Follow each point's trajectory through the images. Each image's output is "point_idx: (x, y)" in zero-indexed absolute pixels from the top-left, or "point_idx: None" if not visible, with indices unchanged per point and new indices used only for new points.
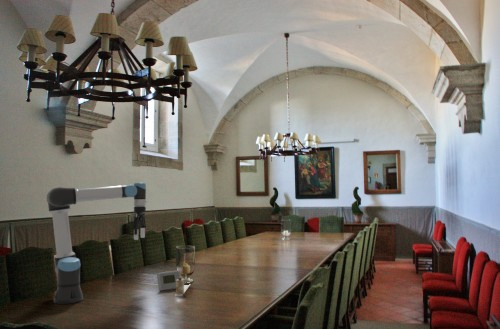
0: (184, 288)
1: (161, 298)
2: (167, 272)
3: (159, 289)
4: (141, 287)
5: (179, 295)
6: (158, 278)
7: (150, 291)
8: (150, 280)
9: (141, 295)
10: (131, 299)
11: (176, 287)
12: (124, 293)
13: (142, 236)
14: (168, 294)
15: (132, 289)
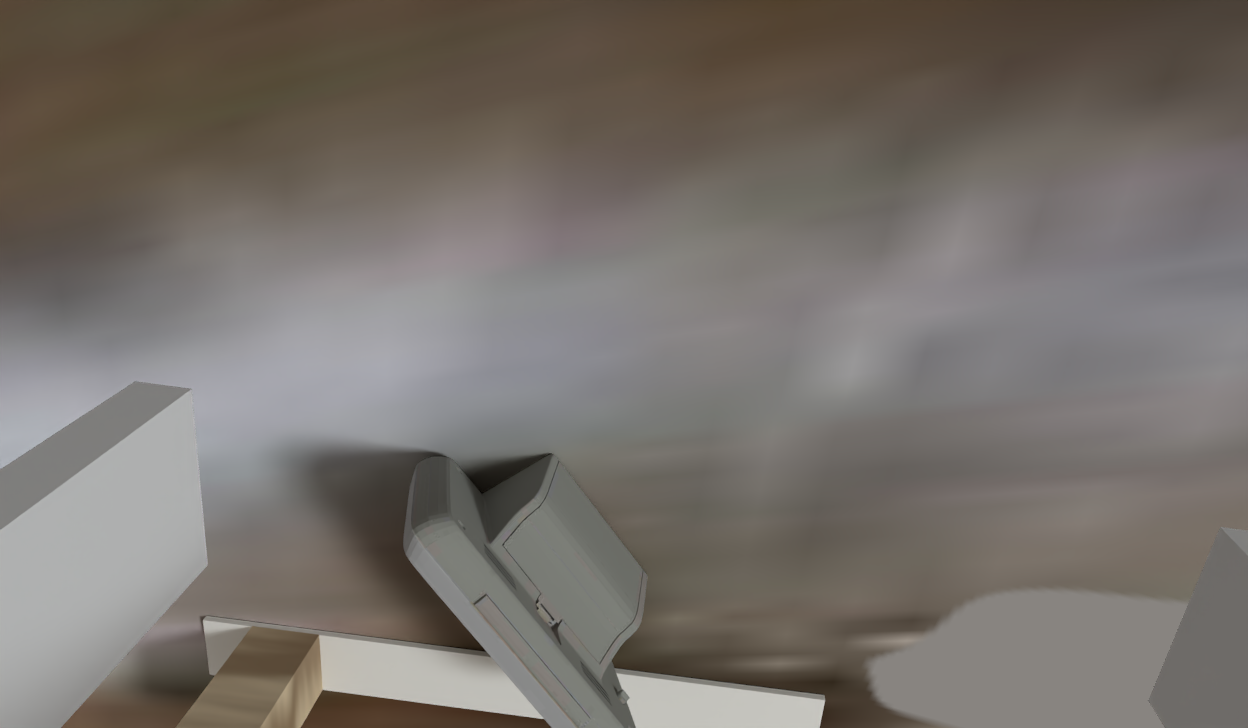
0: (507, 690)
1: None
2: (490, 653)
3: (417, 464)
4: (663, 203)
5: (208, 655)
6: (407, 515)
7: (418, 357)
8: (1159, 250)
9: (220, 286)
10: (33, 208)
11: (218, 676)
12: (316, 42)
13: (1220, 660)
14: (276, 555)
15: (549, 99)
